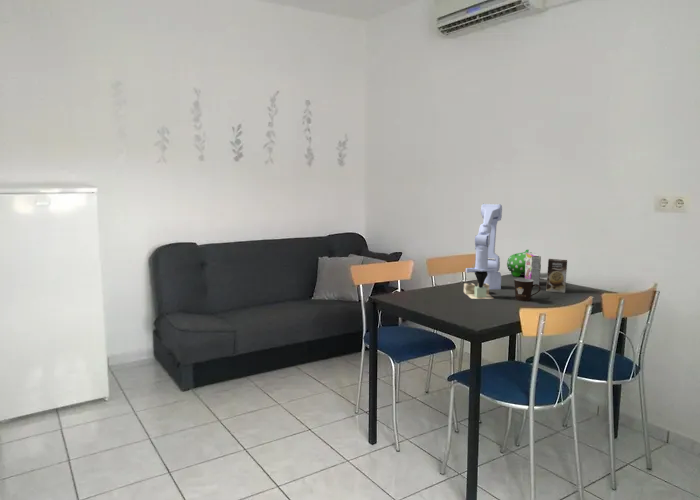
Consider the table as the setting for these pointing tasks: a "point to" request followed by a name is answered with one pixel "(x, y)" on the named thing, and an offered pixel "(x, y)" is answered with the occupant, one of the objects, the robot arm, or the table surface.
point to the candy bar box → (533, 267)
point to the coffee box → (556, 275)
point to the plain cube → (480, 291)
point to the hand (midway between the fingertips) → (480, 287)
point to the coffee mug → (524, 289)
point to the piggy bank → (517, 263)
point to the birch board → (480, 297)
